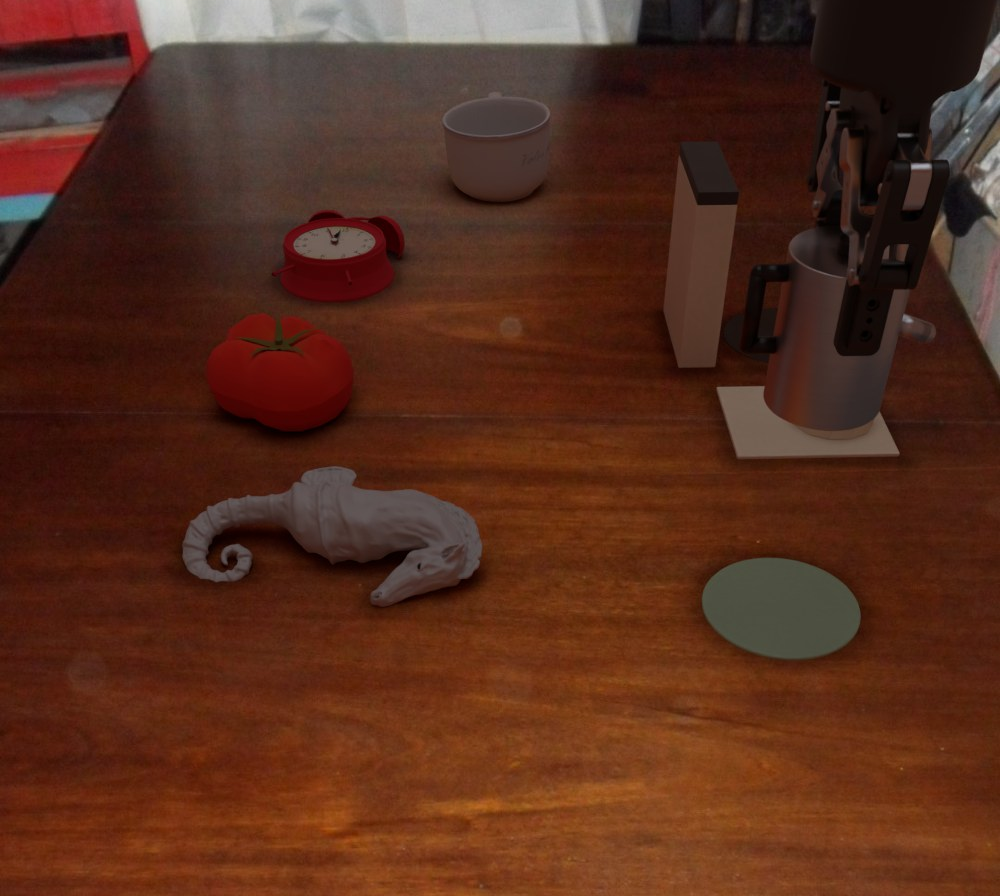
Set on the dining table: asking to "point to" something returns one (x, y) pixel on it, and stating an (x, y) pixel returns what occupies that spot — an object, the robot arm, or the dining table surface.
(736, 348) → the coffee maker plate
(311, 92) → the dining table surface
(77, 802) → the dining table surface
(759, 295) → the kettle
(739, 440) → the cream button base
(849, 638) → the disc
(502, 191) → the teacup
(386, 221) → the alarm clock
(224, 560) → the seahorse
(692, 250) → the tower
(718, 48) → the dining table surface
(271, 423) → the tomato
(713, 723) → the dining table surface
